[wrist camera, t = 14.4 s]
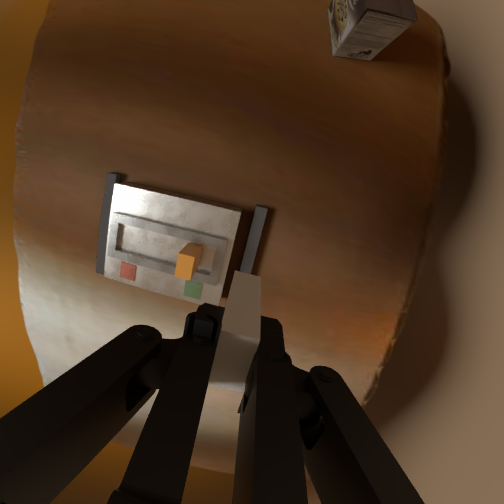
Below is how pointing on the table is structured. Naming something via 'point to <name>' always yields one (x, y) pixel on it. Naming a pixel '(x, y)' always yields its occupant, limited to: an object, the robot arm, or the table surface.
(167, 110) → the table surface
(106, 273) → the panel
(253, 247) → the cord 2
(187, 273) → the lever
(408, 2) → the coffee box
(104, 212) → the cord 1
